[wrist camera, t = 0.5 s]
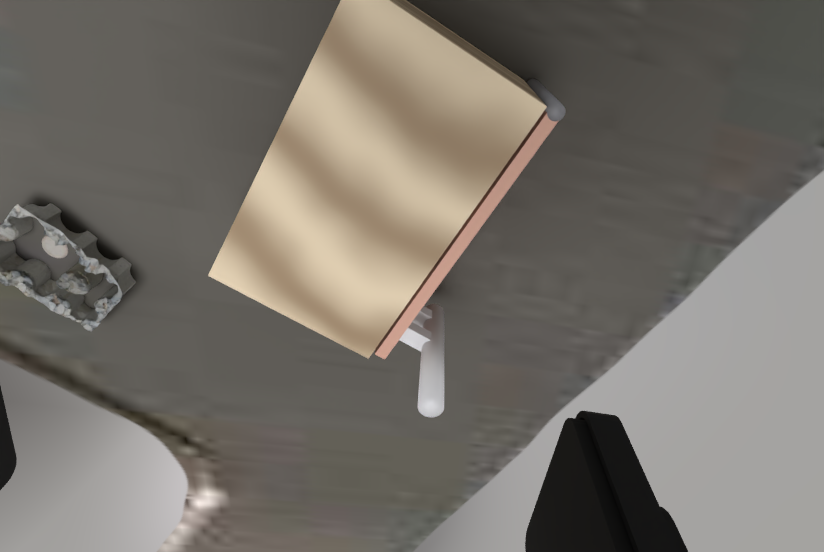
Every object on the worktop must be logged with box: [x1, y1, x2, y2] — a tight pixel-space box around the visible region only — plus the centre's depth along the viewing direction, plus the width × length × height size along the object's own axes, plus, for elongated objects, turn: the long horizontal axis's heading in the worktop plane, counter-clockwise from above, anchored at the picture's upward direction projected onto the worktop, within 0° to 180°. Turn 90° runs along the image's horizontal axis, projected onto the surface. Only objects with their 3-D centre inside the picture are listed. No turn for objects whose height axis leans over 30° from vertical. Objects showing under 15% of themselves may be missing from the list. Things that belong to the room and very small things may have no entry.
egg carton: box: [0, 203, 136, 331], centre depth 46 cm, size 11×8×4 cm
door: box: [375, 79, 565, 417], centre depth 36 cm, size 20×4×15 cm, turn 149°
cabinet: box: [208, 0, 547, 358], centre depth 37 cm, size 20×12×10 cm, turn 149°
